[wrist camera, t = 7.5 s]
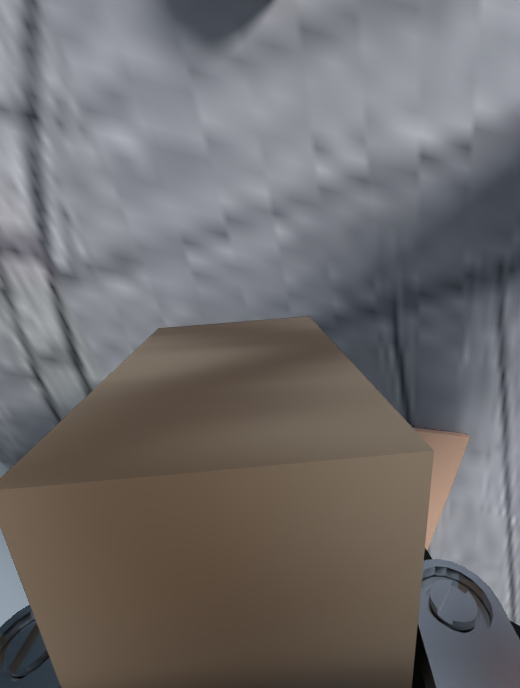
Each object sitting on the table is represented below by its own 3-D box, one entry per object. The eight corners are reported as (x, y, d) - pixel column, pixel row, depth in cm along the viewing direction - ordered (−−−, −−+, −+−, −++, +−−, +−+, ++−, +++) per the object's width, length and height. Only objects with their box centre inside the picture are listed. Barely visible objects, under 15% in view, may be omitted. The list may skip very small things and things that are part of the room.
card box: (309, 316, 9) (435, 450, 3) (316, 571, 11) (391, 907, 6) (158, 328, 9) (-13, 491, 3) (200, 582, 11) (154, 935, 5)
